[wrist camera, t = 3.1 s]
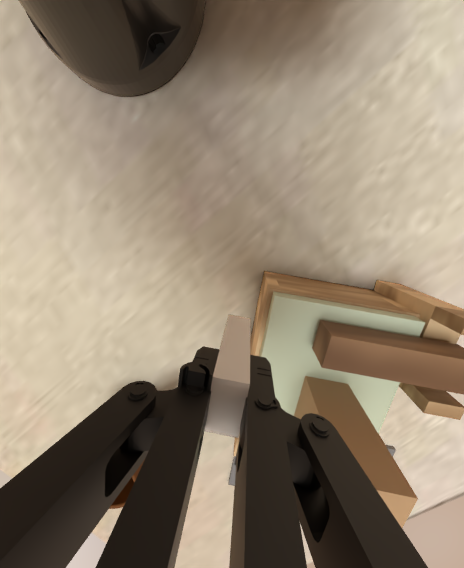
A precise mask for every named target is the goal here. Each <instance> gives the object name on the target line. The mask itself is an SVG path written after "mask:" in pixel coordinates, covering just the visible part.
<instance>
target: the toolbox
mask: <svg viewBox="0 0 464 568" xmlns="http://www.w3.org/2000/svg"><path fill="white" fill-rule="evenodd" d="M273 291H274V292H280V293H286V294H291V295H297V296H303V297H308V298H314V299H320V300H325V301H331V302H337V303H342V304H348V305H354V306H359V307H365V308H371V309H377V310H382V311H388V312H394V313H399V314H405V315H411V316H415V317H417V318H418V319H420V320H422V321H424V322H425V325H424V327H423V330H422V332H421V334H420V337H419V338H425V339H430V340H436V341H441V342H447V343H452V344H456V343H457V341H458V339H459V336H460V334H461V335H464V309H462V308H459V307H457V306H454V305H451V304H449V303H446V302H444V301H441V300H439V299H436V298H434V297H431V296H429V295H426V294H424V293H421V292H419V291H416V290H414V289H411V288H409V287H406V286H404V285H401V284H396V283H390V282H384V281H378V280H377V281H376V284H375V287H374V290H371V289H365V288H359V287H354V286H348V285H342V284H336V283H330V282H325V281H319V280H313V279H307V278H301V277H296V276H290V275H284V274H278V273H272V272H267V271H264V274H263V279H262V284H261V289H260V294H259V299H258V304H257V309H256V314H255V319H254V324H253V329H252V334H251V339H250V355H254V356H259V355H260V350H261V346H262V341H263V336H264V332H265V327H266V323H267V318H268V313H269V309H270V304H271V300H272V295H273ZM399 387H400V388H401V389H402V390H403V391H404V392H405V393H406V394H407V395H408V396H409V397H410V399H411V400H412V401H413V402H414V403H415V404H416V405H417V406H418V407H419V408H420V409H421V411H422V412H423V413H427V414H432V415H438V416H443V417H448V418H453V419H458V420H460V418H461V417H462V415H463V413H464V406H463V405H462V404H460V403H459V402H458V401H457V400H456V399H454V398H453V397H452V396H451V395H450V394H449V393H447V392H446V391H443V390H438V389H432V388H427V387H422V386H417V385H411V384H406V383H401V382H400V384H399ZM239 437H240V433H239ZM238 444H239V438H236V437H235V443H234V456H236V453H237V449H238Z"/></svg>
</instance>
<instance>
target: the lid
mask: <svg viewBox="0 0 464 568" xmlns="http://www.w3.org/2000/svg"><path fill="white" fill-rule="evenodd" d="M320 320H324V321H330V322H335V323H341V324H347V325H352V326H358V327H363V328H369V329H374V330H380V331H386V332H391V333H397V334H402V335H408V336H413V337H420V334H421V332H422V330H423V327H424V325H425V322H424V321H422V320H420V319H418V318H417V317H415V316H411V315H405V314H399V313H394V312H388V311H382V310H377V309H371V308H365V307H359V306H354V305H348V304H342V303H337V302H331V301H325V300H320V299H314V298H308V297H303V296H297V295H291V294H286V293H280V292H274V291H273V295H272V300H271V304H270V309H269V313H268V318H267V323H266V327H265V332H264V336H263V341H262V346H261V350H260V355H259V356H260V357H265V358H267V360H268V361H269V363H270V364H271V372H272V378H273V385H274V392H275V397H276V399H277V400H278V401H279V403H280V405H281V408H282V409H283V410H284V411H286V412H287V413H289V414H291V415H293V416H295V417H297V418H299V419H301V418H302V417H303V416H304V415H305V414H308V413H313V414H318V415H320V416H322V417H324V418H326V419H327V420H328V421H330V422H331V423H332V425H333V426H334V427H335V428H336V430H337V431H338V433H339V434H340V436H341V437H342V439H343V440H344V442H345V443H346V445H347V446H348V448H349V449H350V451H351V452H352V454H353V455H354V457H355V458H356V460H357V461H358V463H359V464H360V466H361V467H362V469H363V470H364V472H365V473H366V475H367V476H368V478H369V479H370V481H371V482H372V484H373V485H374V487H375V488H376V490H377V491H378V493H379V494H380V496H381V498H382V499H383V501H384V502H385V504H386V505H387V507H388V508H389V510H390V511H391V513H392V514H393V516H394V517H395V519H396V520H397V522H398V523H399V525H400V526H401V528H402V527H403V526H404V524H405V522H406V520H407V518H408V516H409V514H410V513H411V511H412V509H413V507H414V505H415V503H416V501H417V499H418V498H417V496H416V495H415V493H414V492H413V490H412V488H411V487H410V485H409V483H408V482H407V480H406V478H405V477H404V475H403V473H402V472H401V470H400V469H399V467H398V465H397V464H396V462H395V460H394V459H393V457H392V455H391V454H390V452H389V450H388V449H387V447H386V446H385V444H384V442H383V441H382V439H381V437H380V436H379V431H380V429H381V427H382V424H383V422H384V420H385V417H386V415H387V412H388V410H389V408H390V405H391V403H392V401H393V398H394V396H395V393H396V391H397V389H398V386H399V384H400V382H395V381H390V380H385V379H379V378H374V377H369V376H363V375H358V374H353V373H347V372H342V371H337V370H331V369H326V368H322V367H321V365H320V363H319V361H318V359H317V357H316V355H315V353H314V351H313V349H312V346H313V343H314V339H315V336H316V332H317V329H318V325H319V322H320Z"/></svg>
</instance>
